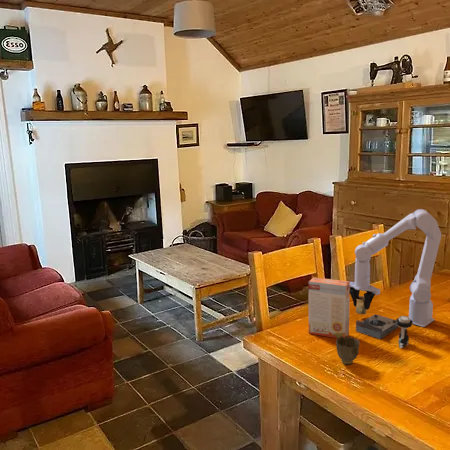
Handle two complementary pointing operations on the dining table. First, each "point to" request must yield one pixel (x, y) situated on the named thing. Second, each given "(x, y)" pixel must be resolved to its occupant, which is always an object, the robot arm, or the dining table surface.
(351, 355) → the cup
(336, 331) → the cracker box
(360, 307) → the brass door knob
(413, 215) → the robot arm
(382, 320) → the jig
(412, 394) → the dining table surface
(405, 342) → the push button
